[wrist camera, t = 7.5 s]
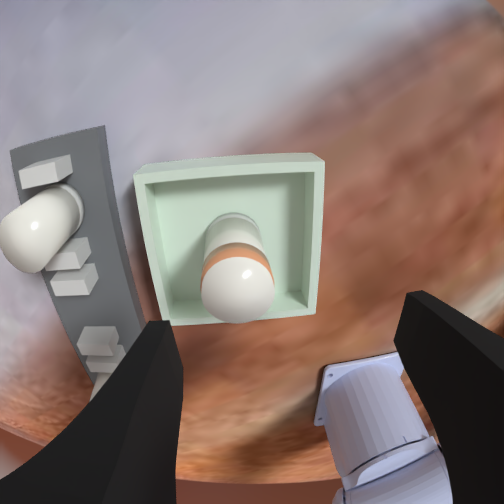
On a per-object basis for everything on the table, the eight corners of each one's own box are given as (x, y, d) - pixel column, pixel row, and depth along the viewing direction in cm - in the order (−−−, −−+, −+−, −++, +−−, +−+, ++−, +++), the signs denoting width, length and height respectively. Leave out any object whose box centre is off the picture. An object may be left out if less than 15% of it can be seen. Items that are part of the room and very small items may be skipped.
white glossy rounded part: (90, 230, 16) (57, 271, 12) (48, 235, 16) (10, 275, 12) (79, 178, 15) (38, 207, 11) (35, 186, 14) (-9, 216, 10)
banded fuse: (260, 261, 19) (274, 322, 14) (206, 263, 18) (203, 325, 13) (261, 210, 17) (278, 260, 12) (203, 212, 17) (196, 263, 12)
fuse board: (168, 391, 24) (165, 419, 22) (105, 390, 24) (98, 416, 21) (104, 125, 15) (82, 132, 12) (20, 146, 14) (-9, 157, 12)
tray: (306, 291, 21) (315, 313, 19) (168, 302, 20) (164, 326, 18) (311, 152, 16) (324, 161, 14) (144, 164, 16) (133, 175, 14)
